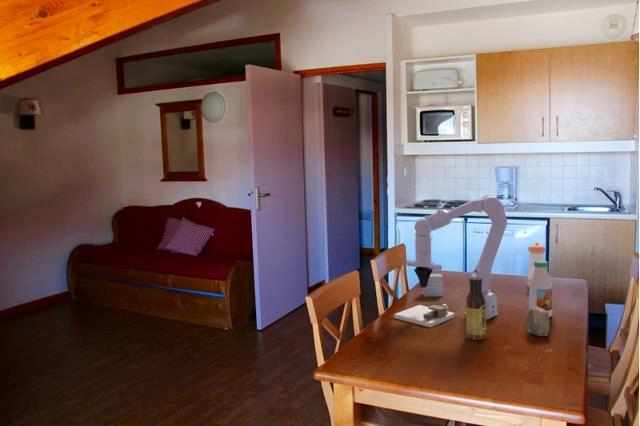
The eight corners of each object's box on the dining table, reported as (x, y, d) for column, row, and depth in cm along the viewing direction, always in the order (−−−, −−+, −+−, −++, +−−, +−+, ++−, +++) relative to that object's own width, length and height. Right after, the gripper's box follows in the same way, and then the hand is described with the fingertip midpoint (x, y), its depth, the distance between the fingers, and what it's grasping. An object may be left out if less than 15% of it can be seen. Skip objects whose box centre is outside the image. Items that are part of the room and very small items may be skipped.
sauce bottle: (486, 341, 180) (486, 281, 178) (466, 340, 182) (466, 280, 179) (485, 334, 187) (485, 276, 184) (465, 333, 188) (465, 275, 185)
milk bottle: (527, 317, 202) (528, 263, 200) (530, 311, 209) (531, 258, 207) (550, 319, 199) (551, 264, 196) (552, 313, 206) (553, 260, 203)
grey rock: (535, 344, 182) (531, 319, 179) (520, 332, 190) (515, 308, 187) (560, 333, 184) (556, 308, 180) (544, 321, 192) (539, 297, 188)
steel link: (442, 310, 208) (442, 302, 208) (450, 312, 206) (450, 304, 205) (422, 318, 200) (422, 310, 199) (429, 320, 197) (429, 312, 197)
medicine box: (441, 293, 237) (441, 273, 235) (443, 296, 232) (442, 276, 231) (422, 294, 237) (422, 274, 236) (423, 297, 233) (423, 276, 232)
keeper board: (454, 317, 206) (454, 304, 205) (430, 327, 195) (430, 314, 195) (419, 308, 217) (419, 296, 217) (394, 317, 207) (394, 305, 206)
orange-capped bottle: (527, 288, 240) (528, 244, 237) (526, 284, 247) (527, 241, 244) (546, 289, 238) (546, 244, 235) (544, 284, 245) (545, 241, 242)
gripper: (400, 250, 210) (401, 286, 212) (433, 255, 200) (433, 292, 201) (412, 247, 215) (412, 282, 217) (444, 252, 204) (445, 288, 206)
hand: (423, 287), depth 209 cm, fingers closed
